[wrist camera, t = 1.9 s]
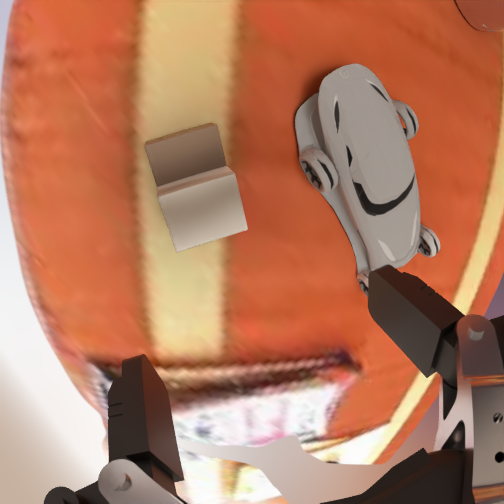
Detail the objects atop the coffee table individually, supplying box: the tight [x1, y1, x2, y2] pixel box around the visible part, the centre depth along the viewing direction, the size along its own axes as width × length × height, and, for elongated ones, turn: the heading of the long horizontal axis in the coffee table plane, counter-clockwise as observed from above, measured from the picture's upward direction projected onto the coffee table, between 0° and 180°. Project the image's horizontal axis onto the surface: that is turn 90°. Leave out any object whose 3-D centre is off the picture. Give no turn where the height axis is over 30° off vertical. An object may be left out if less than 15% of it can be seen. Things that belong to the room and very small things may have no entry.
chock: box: [145, 123, 248, 252], centre depth 21 cm, size 7×5×5 cm
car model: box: [295, 64, 440, 297], centre depth 27 cm, size 11×24×5 cm, turn 29°
